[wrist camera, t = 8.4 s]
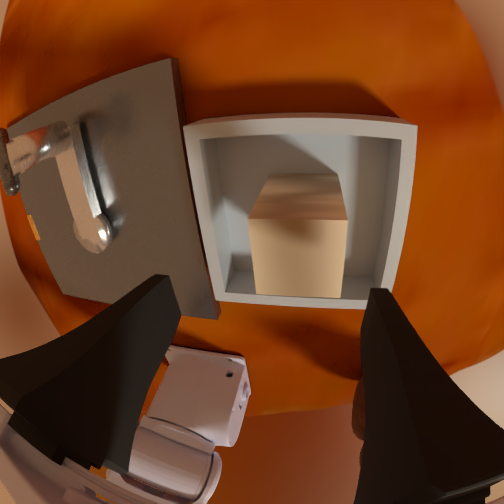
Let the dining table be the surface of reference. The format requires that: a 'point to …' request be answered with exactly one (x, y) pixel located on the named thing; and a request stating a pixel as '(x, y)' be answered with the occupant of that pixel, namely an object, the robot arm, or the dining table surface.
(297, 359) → the dining table surface
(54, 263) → the base plate
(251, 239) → the block
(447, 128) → the dining table surface
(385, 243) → the tray
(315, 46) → the dining table surface
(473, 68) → the dining table surface
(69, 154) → the crank
